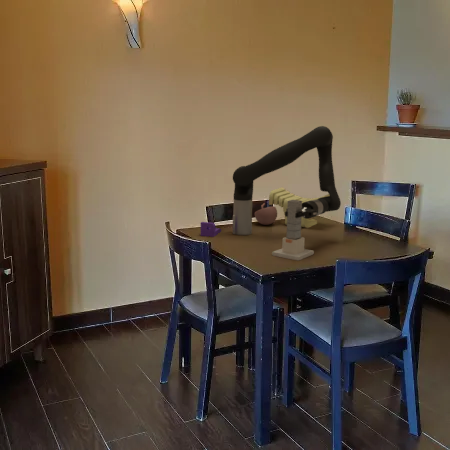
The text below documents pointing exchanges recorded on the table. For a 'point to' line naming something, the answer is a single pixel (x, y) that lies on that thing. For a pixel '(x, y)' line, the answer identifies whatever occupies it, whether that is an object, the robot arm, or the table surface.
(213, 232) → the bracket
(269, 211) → the mortar and pestle
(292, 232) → the column
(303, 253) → the stand
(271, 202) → the slatted curved stool
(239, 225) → the robot arm
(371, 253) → the table surface
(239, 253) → the table surface
